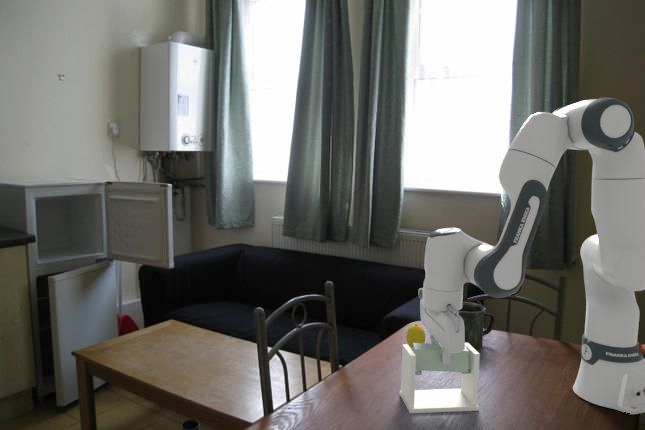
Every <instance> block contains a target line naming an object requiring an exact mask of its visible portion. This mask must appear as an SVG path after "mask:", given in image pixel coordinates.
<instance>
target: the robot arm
mask: <svg viewBox="0 0 645 430" xmlns="http://www.w3.org/2000/svg"><path fill="white" fill-rule="evenodd" d="M571 150H575V151H588V153H589V154H590V156H591V159H592V160H591V161H592V170H591V196H590V198H591V205H590V206H591V208H590V210H591V215H592V216H593V220H594V223H595V228H596V234H593V235H590V236H589V237H587V238H586V239H585V240H584V241H583V242H582V245H581V247H580V251H579V252H580V259H581V262H582V266H583V267H582V268H583V270H582V271H583V281H584V292H585V298H586V299H585V300H586V303H585V304H586V306H585V309H586V310H585V323H584V333H583V334H582V336H581V337H582V338H581V347H580V352H581V353H580V354H581V361H580V365H579V369H578V373H577V375H576V379H575V382H574V384H573V386H572V390H573V392H574V393H575V394H576V395H577V396H578V397H579V398H581V399H583V400H585V401H587V402H588V403H590V404H594V405H597V406H600V407H605V408H608V409H613V410H617V411H620V412H622V413H624V412H626V413H625V414H627V413H630V414H629V415H639V414H643V413H645V358H644V356H643V353H644V354H645V344H641V342H639V341H638V335H639V322H640V315H641V314H640V308H639V305H638V303H637V299H636V295H635V292H642V291H645V142H644V139H643V137H642V136H641V135H640V134H639V133H638V132H636V126H635V119H634V114H633V111H632V109H631V107H630V106H629V105H628V104H627V103H626V102H625V101H623V100H622V99H618V98H613V97H598V98H591V99H585V100H581V101H578V102H575V103H571V104H567V105H563V106H561V107H559V108H557V109H555V110H554V111H553V112H552V113H551V112H547V111H542V112H541V111H539V112H536V113H534V114H533V113H532V114H531V115H530V116H529V117H528V118H527V119H526V121H524V123H523V124H522V126H521V127H520V129H519V130H518V131H517V133H516V135H515V137H514V138H513V140H512V142H511V143H510V146H509V147H508V149H507V151H506V154H505V156H504V157H503V160H502V163H501V164H500V169H499V173H498V180H499V183H500V185H501V187H502V188H503V190H504V192H505V193H506V194H507V196H508V198H509V201H510V209H509V214H508V216H507V219H506V221H505V224H504V226H503V230H502V233H501V235H500V237H499V240H498V242H497V243H496V245H492V244H489V243H487V242H484V241H482V240H479V239H476V238H474V237H473V236H471V235H468V234H467V233H465V232H464V231H463V230H462V229H461V228H457V227H444V228H443V227H442V228H438V229H436V230H434V231H432V232H430V233H429V234H428V237H427V239H426V244H425V249H424V250H425V251H424V262H423V267H424V271H425V277H424V280H423V283H422V285H423V287H420V288H418V298H420V301H419V302H420V303H419V305H420V306H419V310H420V311H419V313H420V314H419V315H420V321H421V325H422V326H423V327H424V328H425V329H426V330H427V331H428V333H429V334H428V336H429V340H430V343H431V344H441V345H442V349H443V353H442V354H441V362H442V363H443V364H450V359H451V355H452V353H462V352H463V351H464V348H465V328H464V321H463V319H462V317H461V316H460V315H458V314H459V312H458V310H460V309H461V308H462V302H463V299H464V298H463V297H464V295H463V294H464V285H465V284H466V283H471V284H472V285H475V286H476V287H478V288H479V289H480V290H481V291H482V292H484V294H485V295H487V296H489V297H491V298H495V299H502V298H507V297H510V296H511V295H513V294H515V293H516V292H517V291H519V289H520V288H521V286H522V285H523V283H524V281H525V277H526V271H527V259H528V256H529V251H530V249H531V247H532V244H533V241H534V239H535V236H536V233H537V231H538V227H539V225H540V222H541V220H542V217H543V213H544V211H545V207H546V204H547V200H548V189H549V185H550V182H551V180H552V178H553V175H554V173H555V171H556V169H557V166H558V165H559V162H560V160H561V158H562V156H563V155H564V154H565V152H566V151H571Z"/></svg>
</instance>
